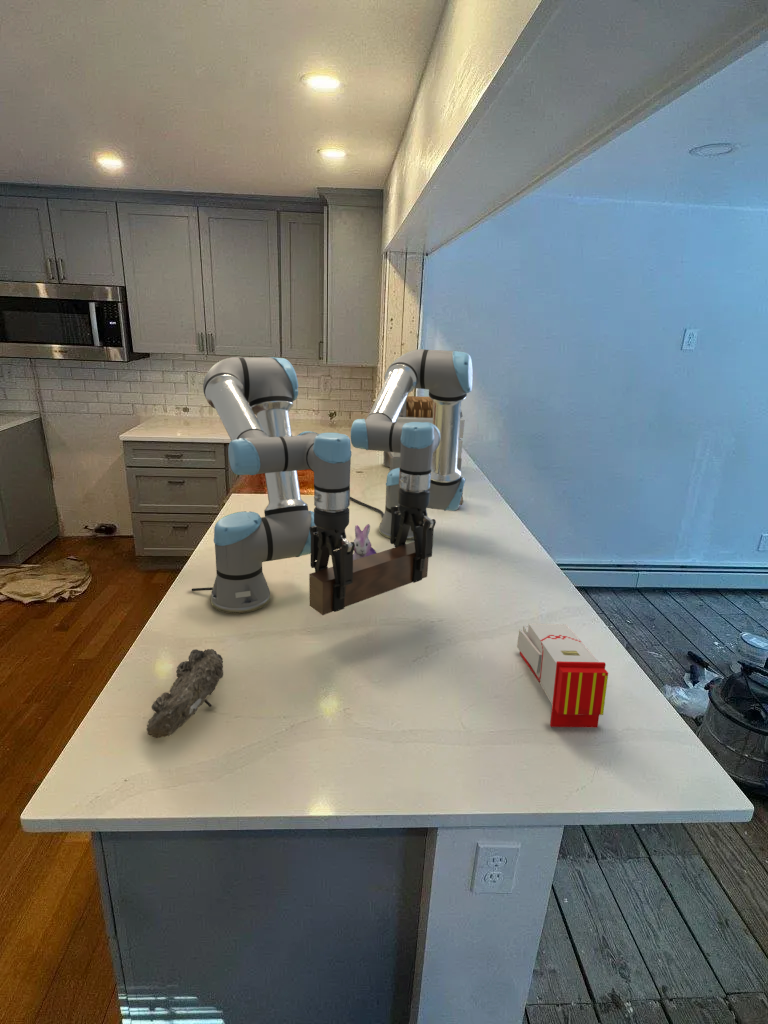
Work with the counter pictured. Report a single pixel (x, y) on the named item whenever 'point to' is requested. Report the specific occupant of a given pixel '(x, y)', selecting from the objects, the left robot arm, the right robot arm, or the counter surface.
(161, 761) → the counter surface
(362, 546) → the figurine
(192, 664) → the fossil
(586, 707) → the toy
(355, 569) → the plank
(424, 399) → the transformer
